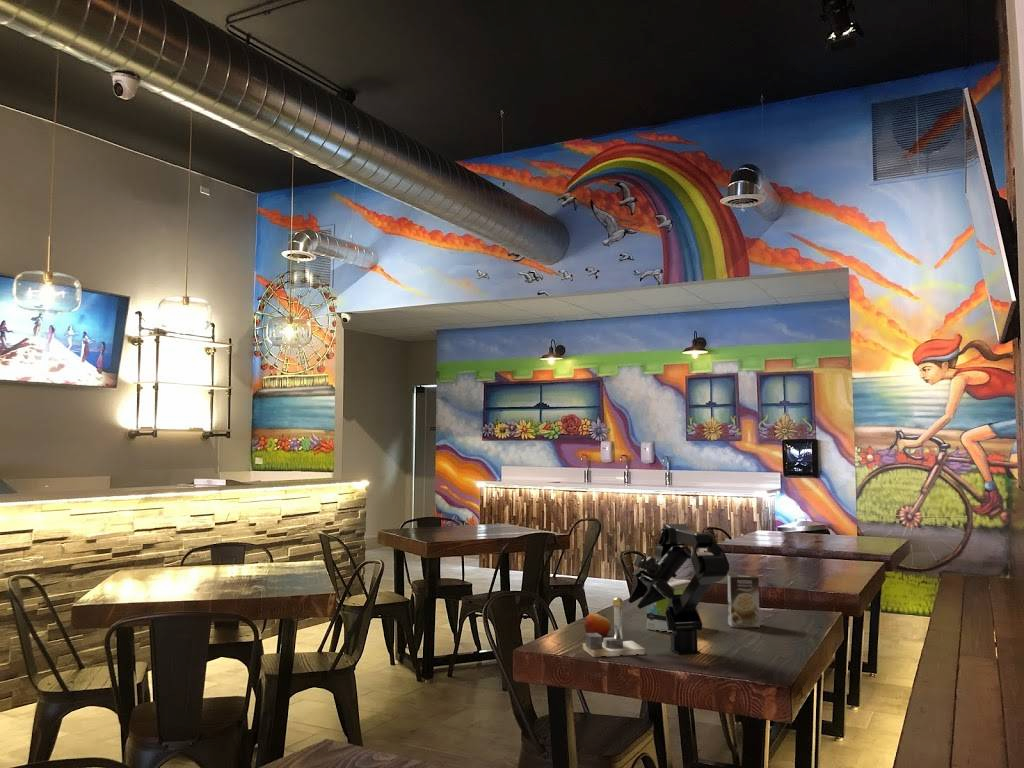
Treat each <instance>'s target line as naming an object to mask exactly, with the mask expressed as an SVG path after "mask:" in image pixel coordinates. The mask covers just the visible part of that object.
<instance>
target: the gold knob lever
mask: <svg viewBox="0 0 1024 768" xmlns="http://www.w3.org/2000/svg"><path fill="white" fill-rule="evenodd" d="M612 606H613V619H614V620H613V622H614V624H613V626H614V627H613V630H614V636H613V637H614V638H602V642H603V646H605V647H608V640H623V610H622V609H623V608H622V607H623V606H624V600H623V599H622V598H621V597H618V596H617V597H614V598H613V600H612Z"/></svg>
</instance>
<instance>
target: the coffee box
mask: <svg viewBox="0 0 1024 768" xmlns="http://www.w3.org/2000/svg"><path fill="white" fill-rule="evenodd" d="M759 581H760V579H759V576H757V575H755V574H743V573H742V574H740V573H739V574H735V573H733V574H732V573H728V574H727V624H728V625H729V626H730V627H731V628H747V627H759V628H760V589H759V588H760V586H759V584H760V582H759Z"/></svg>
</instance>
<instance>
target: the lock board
mask: <svg viewBox="0 0 1024 768" xmlns="http://www.w3.org/2000/svg"><path fill="white" fill-rule="evenodd" d="M584 635H585V637H584V638H585V643H582V650H584V651H585V652H587V654H589V655H590V656H592V657H593V658H601V656H606V657H620V655H623V656H635V655H636V654H639V655H646V648H645V647H643V646H642V645H640V644H638V643H636V642H635V641H633V640H625V641H624V640H623V639H622V640H608V647H605V646H603V638H602V636H601V635H599V634H598V633H586V632H585V633H584ZM604 638H614V636H606V637H604Z"/></svg>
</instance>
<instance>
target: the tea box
mask: <svg viewBox="0 0 1024 768" xmlns="http://www.w3.org/2000/svg"><path fill="white" fill-rule="evenodd" d="M691 580H692V579H691ZM691 580H689V579H681V578H679V579H678V578H673V577H672V578H671V579H670V580H669V581H668V582H667V583H668V584H669V585H670V586H671V587H672V588H673V589H674V595H676V594H683V592H684V591H685V589H686V588H687V586H688V584H689V583H690V581H691ZM664 597H665V596H664ZM665 598H666V597H665ZM669 600H670V599H668V598H666V599H663V600H660V601H658V602H655V603H652V604H650V605H648V606H646V629H647V630H651V631H656V630H659V631H658V632H662V631H667V632H666V633H669V632H672V631H671V630H668V627H667V622H666V615H665V611H666V607H667V605H668V603H669V602H668V601H669ZM686 623H693V622H686Z"/></svg>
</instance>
